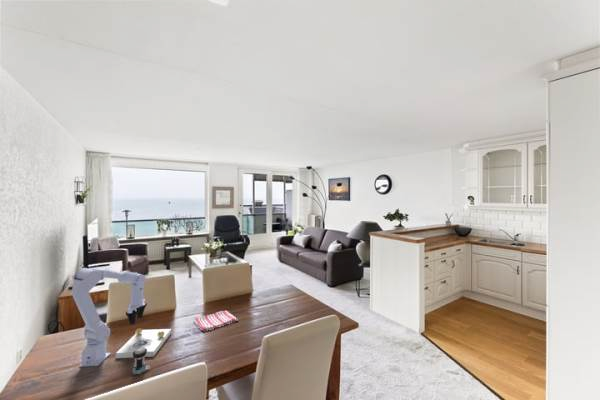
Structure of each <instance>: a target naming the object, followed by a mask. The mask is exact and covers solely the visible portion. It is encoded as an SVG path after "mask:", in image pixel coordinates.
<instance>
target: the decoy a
mask: <svg viewBox="0 0 600 400" xmlns="http://www.w3.org/2000/svg"><path fill="white" fill-rule="evenodd" d="M142 330H143V328H140V327H139V328H137V329H136V330H135V332H134V333H135V334H137V335H139V334H141V333H142Z"/></svg>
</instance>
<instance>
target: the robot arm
mask: <svg viewBox="0 0 600 400" xmlns="http://www.w3.org/2000/svg"><path fill="white" fill-rule="evenodd" d="M106 278H108V279H114V280H117V282H118V283H123V284H128V285H129V284H130V285H131V286H130V304H129V307H128V309H127V311H125V315H126V316H127V319H128V322H129V325H131V326H132V325H135V324H136V321H137V319H142V318H143V317H144V312H145V309H146V307H147V305H148V303H146V298H144V287H145V283H146V282H147V278H146V275H145V274H141V273H138V272H137V271H135V272H132V271H130V270H129V269H127V270H126V269H125V270H122V271H120V272H118V271H117V272H116V271H112V270H109V269H108V270H107V269H102V268H95V267H92V268H91V267H90V268H88V267H82V268H80V269H78V270H77V271H76V272H75V274H74V275H73V277H72V281H73V284H72V288H71V289H72V290H71V295H72V299H73V300H74V302H75V305H76V307H77V309H78V311H79V313H80V315H81V317H82V319H83V322H84V324H85V325H84V326H83V329H84V332H83V335H84V338H86V341H87V342H86V345H85V347H84V349H82V351H81V359H80V360H81V362H80V364H79V365H78V367H97V366H99V365H100V364H101V363H103V361H105V360H106V359H107V358H108V357H109V356H110V355H111V352H107V340H108V338H109V337H110V335H111V328H109V327H108V326H107V325H106V324H105V322H104V321H102V320H101V318H100V315H99V313H98V311H97V309H96V306H95V304H94V301H93V299H92V297H91V295H90V291H92V289H93V288H94V287H95V286H96V285H97V284H98V283H99V282H100V281H103V280H104V279H106Z"/></svg>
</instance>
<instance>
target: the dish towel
mask: <svg viewBox="0 0 600 400" xmlns="http://www.w3.org/2000/svg"><path fill="white" fill-rule="evenodd" d="M235 321H237V322H238V321H239V318H237V317H236V316H235V315H233V314H232V313H230V311H229V310H221V311H220V310H219V311H217V312H214V313H212V314H207V315H201V316H194V318H193V322H194V324H195V326H196V327H197V328H198V329H200V330H201V331H203V333H204V332H207V331H208V330H209V331H212V330H215V329H218V328H217V327H219V328H221V326H222V327H224V325H225V326H227V325H226V324H228V325H231V324H233V323H232V322H234V323H236V322H235ZM230 323H231V324H230ZM214 328H215V329H214ZM209 331H208V332H209Z"/></svg>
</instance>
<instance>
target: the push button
mask: <svg viewBox="0 0 600 400" xmlns="http://www.w3.org/2000/svg"><path fill="white" fill-rule="evenodd" d="M146 352H147V349H146V348H144V347H140V348H137V349H136V350H135V351H134V352H133V358H134V365H133V367H132V375H133V376H134V375H140V374H142V373H145V372H146V371H147V370H149V369H150V365H147V363H146V362H145V357H144V356H145V355H146Z"/></svg>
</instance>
